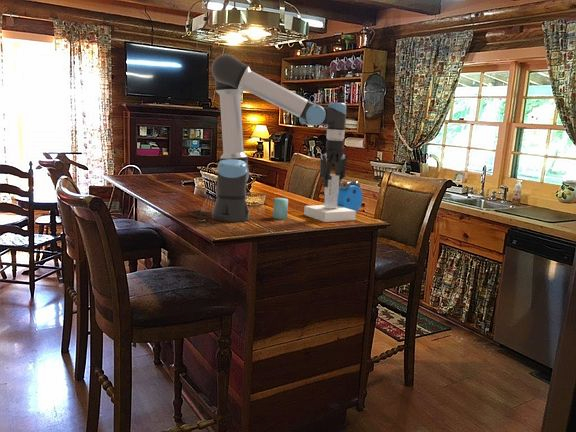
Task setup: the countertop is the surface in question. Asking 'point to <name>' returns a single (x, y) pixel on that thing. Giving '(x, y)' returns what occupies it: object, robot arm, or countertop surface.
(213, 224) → the countertop surface
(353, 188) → the alarm clock
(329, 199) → the square bit
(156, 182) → the countertop surface
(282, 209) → the pale teal capsule
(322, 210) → the bore block
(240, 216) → the robot arm
